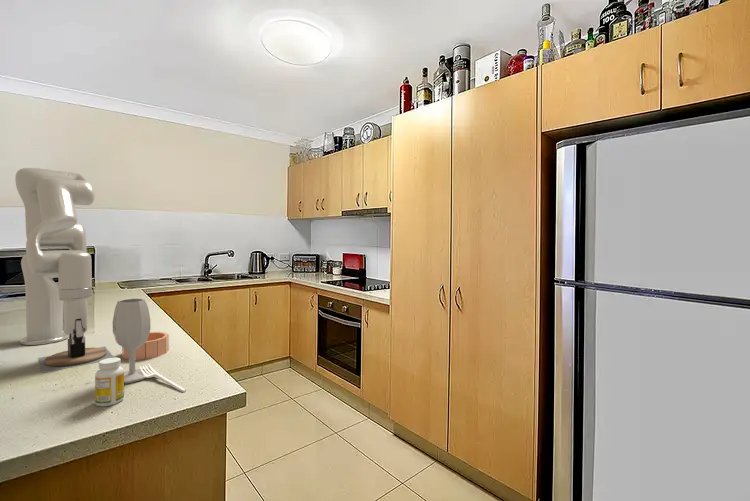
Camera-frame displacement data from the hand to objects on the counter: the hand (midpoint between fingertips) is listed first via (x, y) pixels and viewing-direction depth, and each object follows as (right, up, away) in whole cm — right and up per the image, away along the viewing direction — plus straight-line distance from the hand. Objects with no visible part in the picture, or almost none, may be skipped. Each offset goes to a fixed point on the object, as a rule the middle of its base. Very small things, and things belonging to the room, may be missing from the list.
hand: (76, 354), depth 106 cm
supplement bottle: (+28, -4, -24) cm, 37 cm away
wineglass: (+24, -3, -11) cm, 26 cm away
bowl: (+17, -2, +6) cm, 18 cm away
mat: (0, -2, 0) cm, 2 cm away
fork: (+34, -3, -13) cm, 36 cm away
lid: (0, -1, 0) cm, 1 cm away
